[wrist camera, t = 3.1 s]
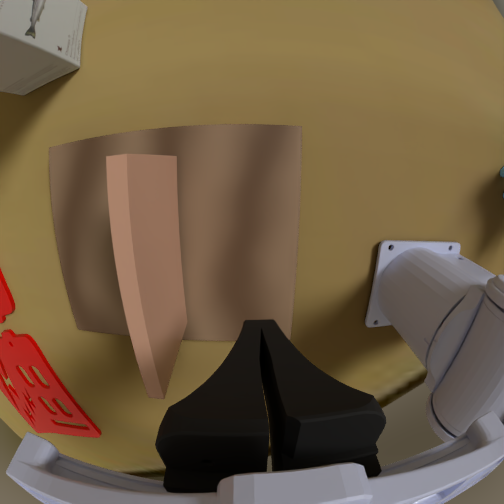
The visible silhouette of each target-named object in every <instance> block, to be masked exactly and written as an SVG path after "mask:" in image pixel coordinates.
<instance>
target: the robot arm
mask: <svg viewBox="0 0 504 504" xmlns="http://www.w3.org/2000/svg"><path fill="white" fill-rule="evenodd" d="M390 245H391V248H390V249H388V247H389V246H390ZM449 246H450V248H449ZM459 252H460V244H459V243H457V242H437V241H391V240H384V241H382V242H381V243H380V244H379V249H378V256H377V262H376V268H375V274H374V280H373V285H372V291H371V296H370V301H369V306H368V310H367V315H366V319H365V325H366V326H367V327H379V326H388V325H393V327H394V328H395V329H396V330H397V332H398V333H399V334H400V335H401V337H402V338H403V339H404V340H405V342H406V343H407V344H408V346H409V347H410V348H411V350H412V351H413V352H414V353H415V355H416V356H417V357H418V359H419V360H420V361H421V363H422V364H423V365H424V367H425V368H426V369H427V371H428V374H427V377H426V379H425V381H424V382H425V383H426V385H427V386H428V388H429V389H430V391H431V392H432V393H431V394H430V396H429V397H428V400H427V402H426V415H427V418H428V421H429V423H430V426H431V427H432V429H433V430H434V432H435V433H436V434H437V435H438V436H439V438H440V439H442V440H443V441H444V442H445V443H443V444H441V445H439V446H436V447H434V448H432V449H430V450H427V451H425V452H422V453H420V454H417V455H414V456H412V457H409V458H406V459H403V460H401V461H398V462H395V463H392V464H388V465H385V466H382V467H380V464H379V462H378V459H377V456H376V454H377V453H378V449H377V446H376V441H377V440H378V438H379V436H380V434H381V433H382V431H383V429H384V427H385V424H386V417H385V415H384V413H383V411H382V409H381V407H380V405H379V404H378V402H377V401H376V399H375V398H374V396H373V395H370V394H367V393H365V392H362V391H359V390H357V389H354V388H352V387H349V386H347V385H345V384H343V383H341V382H339V381H337V380H336V379H334V378H332V377H331V376H329V375H327V374H326V373H324V372H323V371H321V370H320V369H318V368H317V367H316V366H315V365H313V364H312V363H311V362H310V361H309V360H307V359H306V358H305V357H304V356H303V355H302V354H301V353H300V352H299V351H298V350H297V349H296V348H295V346H294V345H293V344H292V343H291V342H290V341H289V339H288V338H287V337H286V336H285V334H284V333H283V332H282V330H281V329H280V327H279V326H278V324H277V323H276V321H275V320H274V319H265V320H245V321H244V322H243V326H242V330H241V332H240V334H239V337H238V339H237V341H236V343H235V344H234V346H233V348H232V350H231V351H230V353H229V354H228V356H227V357H226V359H225V360H224V362H223V363H222V364H221V365H220V367H219V368H218V369H217V370H216V371H215V372H214V374H213V375H212V376H211V377H210V378H209V379H208V380H207V381H206V382H205V383H203V384H202V385H201V386H200V387H199V388H197V389H196V390H195V391H194V392H192V393H191V394H190V395H188V396H187V397H186V398H184V399H182V400H181V401H179V402H177V403H176V404H174V405H172V406H170V407H169V408H168V410H167V412H166V414H165V416H164V418H163V420H162V422H161V425H160V427H159V431H158V435H157V439H156V444H155V445H156V449H157V451H158V453H159V455H160V457H161V459H162V460H163V462H164V464H165V466H166V471H165V477H164V481H158V480H153V479H147V478H142V477H137V476H132V475H128V474H124V473H120V472H116V471H112V470H108V469H105V468H101V467H98V466H95V465H92V464H88V463H85V462H82V461H80V460H77V459H74V458H71V457H69V456H66V455H63V454H61V453H59V451H58V450H57V448H56V447H55V446H54V445H53V444H52V443H50V442H49V441H47V440H46V439H43V438H41V437H39V436H37V435H35V434H32V433H30V432H27V433H26V435H25V437H24V439H23V440H22V442H21V444H20V446H19V448H18V449H17V451H16V453H15V455H14V457H13V459H12V461H11V463H10V465H9V467H8V469H7V471H6V473H7V475H8V476H10V477H11V478H12V479H13V480H14V481H15V482H16V483H18V484H19V485H20V486H21V487H22V488H24V489H25V490H26V491H27V492H29V493H30V494H31V495H33V496H34V497H35V498H37V499H38V500H39V501H41V502H43V503H44V504H444V503H445V502H447V501H449V500H450V499H452V498H453V497H455V496H457V495H459V494H460V493H462V492H463V491H465V490H467V489H468V488H470V487H471V486H473V485H474V484H476V483H477V482H479V481H480V480H482V479H483V478H485V477H486V476H487V475H488V474H489V473H490V472H491V471H493V470H494V469H495V468H496V466H498V465H499V464H500V463H501V462H502V461H503V460H504V275H498V276H495V275H494V274H492V273H491V272H489V271H487V270H486V269H484V268H482V267H481V266H479V265H477V264H476V263H474V262H472V261H470V260H469V259H467V258H465V257H463V256H461V255H460V254H459ZM376 320H377V321H376ZM374 321H376V322H375V323H374ZM262 385H263V387H262ZM263 390H264V393H263ZM264 395H265V400H264ZM265 401H266V406H267V411H268V416H267V411H266V406H265ZM268 418H269V424H268ZM269 429H270V443H271V458H272V472H266V471H267V459H268V447H269Z"/></svg>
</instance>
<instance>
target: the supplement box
mask: <svg viewBox="0 0 504 504" xmlns="http://www.w3.org/2000/svg"><path fill="white" fill-rule="evenodd" d="M86 11H87V6H86V5H85V4H83V3H82V2H81V1H80V0H0V92H7V93H12V94H18V95H26V94H28V93H29V92H31V91H33V90H35V89H37V88H39V87H41V86H43V85H45V84H46V83H48V82H51V81H53V80H55V79H57V78H59V77H61V76H63V75H65V74H68V73H70V72H72V71H74V70H76V69H79V68H80V50H81V40H82V33H83V27H84V21H85V16H86Z"/></svg>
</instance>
